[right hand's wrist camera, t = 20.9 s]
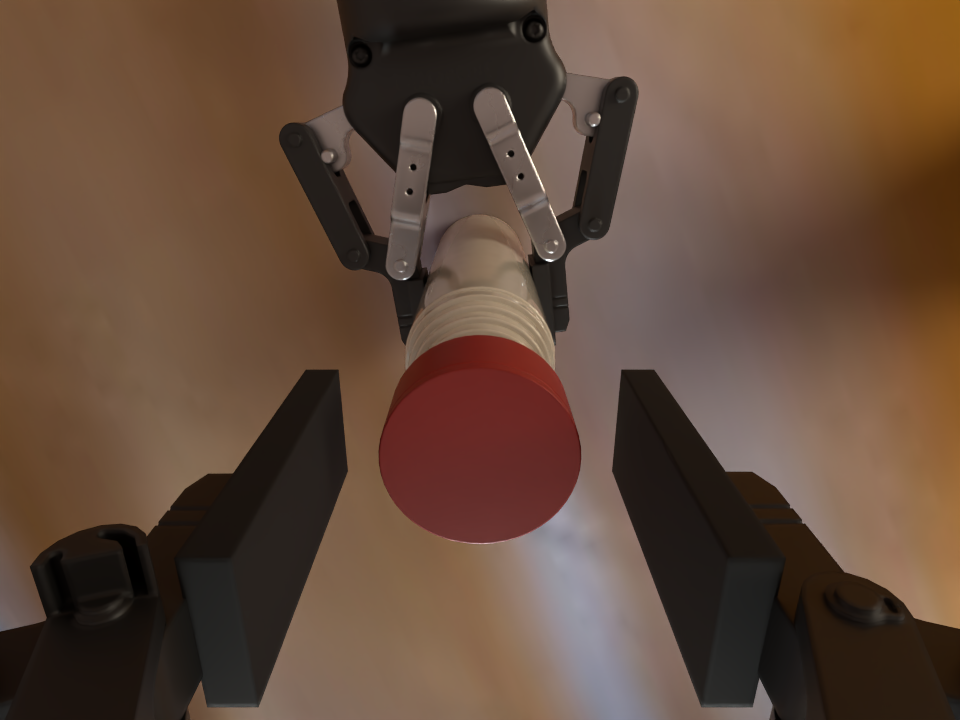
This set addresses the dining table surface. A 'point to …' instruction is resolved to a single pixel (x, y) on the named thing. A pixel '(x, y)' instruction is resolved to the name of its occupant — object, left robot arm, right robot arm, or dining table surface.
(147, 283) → the dining table surface
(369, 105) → the left robot arm
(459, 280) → the bottle
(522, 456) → the cap
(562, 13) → the dining table surface
